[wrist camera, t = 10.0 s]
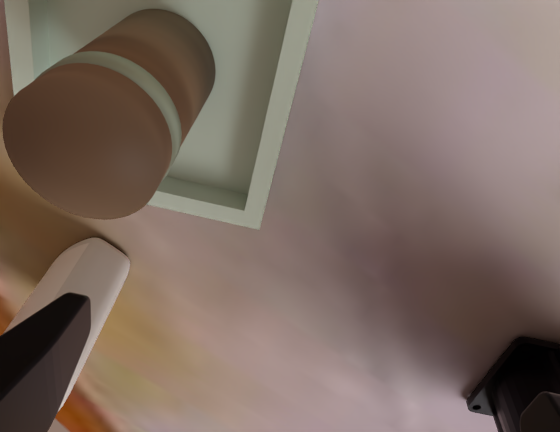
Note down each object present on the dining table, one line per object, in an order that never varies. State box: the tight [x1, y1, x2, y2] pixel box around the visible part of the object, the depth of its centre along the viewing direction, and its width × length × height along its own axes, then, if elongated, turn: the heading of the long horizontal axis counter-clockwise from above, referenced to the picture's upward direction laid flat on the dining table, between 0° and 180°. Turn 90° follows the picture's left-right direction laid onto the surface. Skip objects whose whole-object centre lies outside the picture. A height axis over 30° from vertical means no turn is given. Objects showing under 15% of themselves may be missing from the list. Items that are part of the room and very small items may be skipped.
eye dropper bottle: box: [3, 238, 130, 411], centre depth 20 cm, size 4×6×12 cm
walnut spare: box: [3, 9, 216, 220], centre depth 15 cm, size 4×4×7 cm
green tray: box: [4, 0, 319, 230], centre depth 17 cm, size 11×10×2 cm
